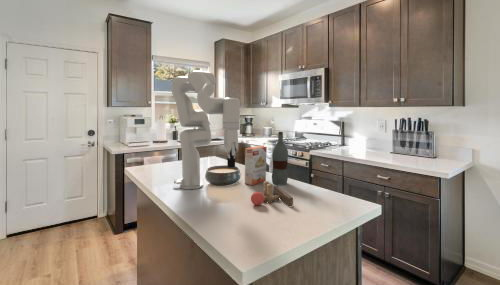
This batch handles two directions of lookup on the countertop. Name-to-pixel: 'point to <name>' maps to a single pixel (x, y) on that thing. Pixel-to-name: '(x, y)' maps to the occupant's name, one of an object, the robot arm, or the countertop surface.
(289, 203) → the dark wooden bar
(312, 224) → the countertop surface
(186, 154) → the robot arm
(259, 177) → the cracker box
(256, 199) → the ball
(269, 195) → the pin
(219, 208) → the countertop surface
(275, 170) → the bottle
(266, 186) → the pin
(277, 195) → the front pin
